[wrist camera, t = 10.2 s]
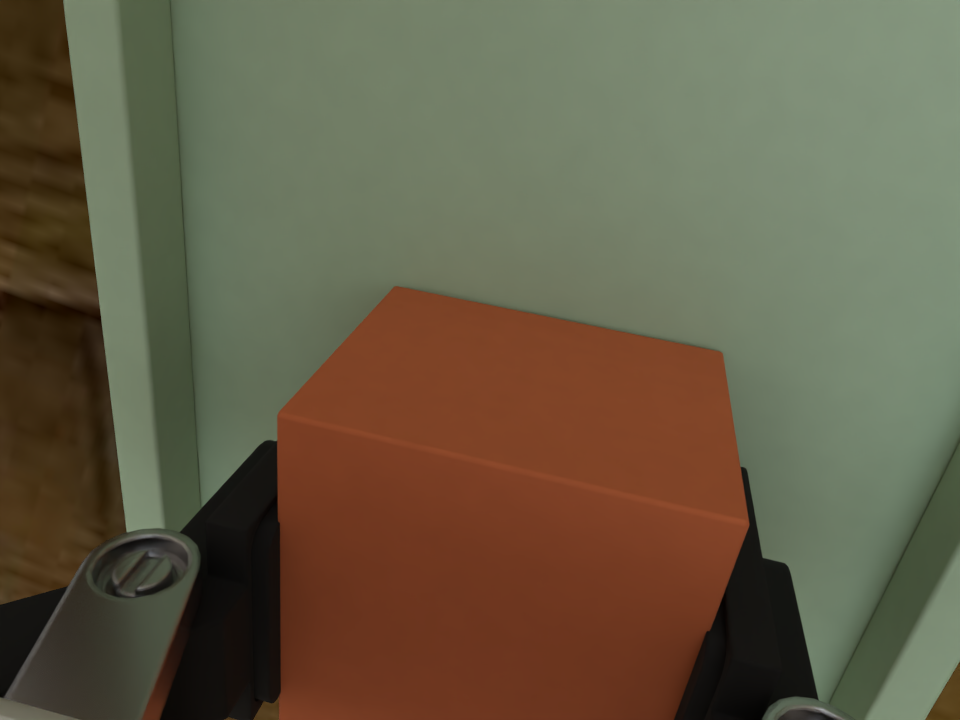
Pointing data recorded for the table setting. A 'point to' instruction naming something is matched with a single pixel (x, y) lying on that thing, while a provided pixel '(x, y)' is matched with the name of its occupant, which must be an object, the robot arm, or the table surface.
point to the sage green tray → (561, 245)
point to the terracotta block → (502, 518)
